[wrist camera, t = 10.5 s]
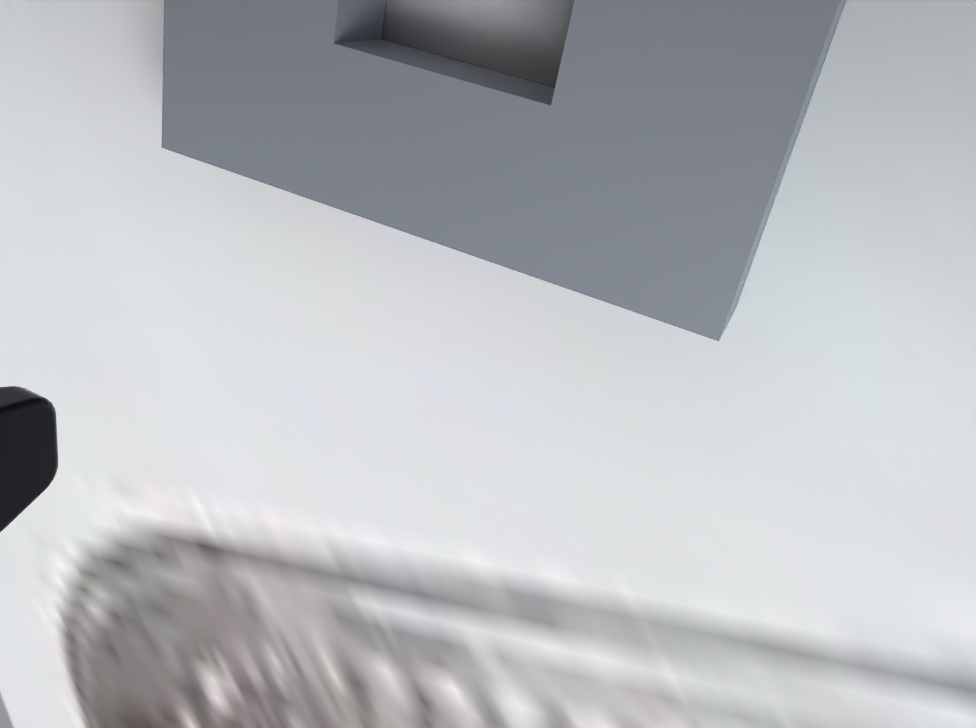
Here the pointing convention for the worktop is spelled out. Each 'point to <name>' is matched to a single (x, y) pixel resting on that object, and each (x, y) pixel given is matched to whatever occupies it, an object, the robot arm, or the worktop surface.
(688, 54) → the port panel
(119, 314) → the worktop surface
